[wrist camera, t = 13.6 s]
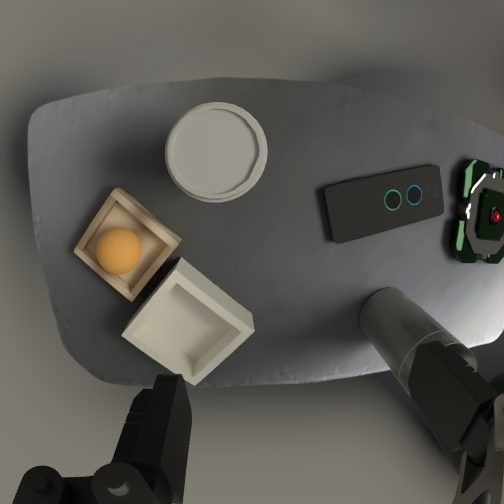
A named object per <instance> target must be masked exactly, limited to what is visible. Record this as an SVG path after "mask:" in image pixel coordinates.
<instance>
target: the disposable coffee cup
mask: <svg viewBox="0 0 504 504" xmlns="http://www.w3.org/2000/svg"><path fill="white" fill-rule="evenodd" d="M165 161H166V166H167V169H168V172H169V174H170V176H171V178H172V180H173V181H174V182H175V184H176V185H177V186H178V187H179V188H180V189H181V190H182V191H184V192H185V193H186V194H187V195H189V196H191V197H193V198H195V199H198V200H202V201H205V202H224V201H229V200H232V199H234V198H237V197H239V196H241V195H243V194H244V193H246V192H247V191H248V190H249V189H251V188H252V187H253V186H254V185H255V184H256V182H257V181H258V179H259V178H260V176H261V175H262V173H263V171H264V168H265V164H266V161H267V142H266V138H265V135H264V132H263V130H262V128H261V127H260V125H259V123H258V122H257V121H256V120H255V119H254V118H253V116H252V115H251V114H249V113H248V112H246V111H245V110H244V109H242V108H240V107H237V106H235V105H232V104H228V103H222V102H213V103H206V104H202V105H199V106H197V107H194V108H192V109H191V110H189V111H187V112H186V113H184V114H183V115H182V116H181V117H180V118H179V119H178V120H177V121H176V123H175V124H174V126H173V127H172V128H171V131H170V133H169V135H168V137H167V141H166V145H165Z"/></svg>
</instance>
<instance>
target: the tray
mask: <svg viewBox="0 0 504 504" xmlns="http://www.w3.org/2000/svg"><path fill="white" fill-rule="evenodd" d="M114 227H124V228H127V229H129V230H131V231H132V232H133V233H134V234H135V235H136V236H137V237H138V239H139V241H140V244H141V257H140V260H139V263H138V264H137V266H136V267H135V268H134V269H133V270H131V271H130V272H128V273H126V274H120V275H117V274H112V273H110V272H108V271H106V270H105V269H104V268H103V267H102V266H101V265H100V263H99V261H98V259H97V255H96V246H97V243H98V240H99V238H100V237H101V235H102V234H103V233H104V232H106V231H107V230H109V229H111V228H114ZM181 240H182V239H181V238H180V237H179V236H178V235H176V234H175V233H174V232H173V231H172V230H171V229H169V228H168V227H167V226H166V225H165V224H164V223H162V222H161V221H160V220H159V219H158V218H157V217H155V216H154V215H153V214H152V213H151V212H150V211H148V210H147V209H146V208H145V207H144V206H143V205H142V204H140V203H139V202H138V201H137V200H136V199H135V198H134V197H132V196H131V195H130V194H129V193H128V192H127V191H126V190H124V189H123V188H122V187H118V188H115V189H114V190H113V191H112V193H111V194H110V196H109V197H108V199H107V200H106V201H105V203H104V204H103V206H102V207H101V209H100V210H99V212H98V213H97V215H96V216H95V218H94V219H93V221H92V222H91V224H90V225H89V227H88V229H87V230H86V232H85V233H84V235H83V237H82V238H81V240H80V241H79V243H78V245H77V246H76V248H75V250H74V251H73V252H74V253H75V254H76V255H78V256H79V257H80V258H81V259H82V260H83V261H84V262H85V263H86V264H87V265H89V266H90V267H91V268H92V269H93V270H94V271H95V272H96V273H98V274H99V275H100V276H101V277H102V278H103V279H104V280H106V281H107V282H108V283H109V284H110V285H112V286H113V287H114V288H115V289H116V290H117V291H119V292H120V293H121V294H122V295H124V296H125V297H126V298H127V299H128V300H130V301H131V302H132V301H133V300H134V299H135V298H136V296H137V295H138V294H139V292H140V291H141V290H142V289H143V287H144V286H145V285H146V284H147V282H148V281H149V280H150V279H151V277H152V276H153V275H154V274H155V272H156V271H157V270H158V269H159V267H160V266H161V265H162V264H163V263H164V261H165V260H166V259H167V258H168V257H169V255H170V254H171V253H172V252H173V250H174V249H175V248H176V247H177V246H178V245H179V243H180V241H181Z"/></svg>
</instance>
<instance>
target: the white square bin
mask: <svg viewBox="0 0 504 504" xmlns="http://www.w3.org/2000/svg"><path fill="white" fill-rule="evenodd" d="M254 332H255V330H254V323H253V317H252V313H251V312H249V311H248V310H247V309H245V308H244V307H243V306H242V305H240V304H239V303H238V302H236V301H235V300H234V299H233V298H231V297H230V296H229V295H228V294H226V293H225V292H224V291H222V290H221V289H220V288H219V287H217V286H216V285H215V284H214V283H212V282H211V281H210V280H209V279H207V278H206V277H205V276H204V275H203V274H201V273H200V272H199V271H198V270H196V269H195V268H194V267H193V266H192V265H190V264H189V263H188V262H187V261H185V260H184V259H183V258H182V257H181V258H180V259H179V260H178V261H177V263H176V264H175V265H174V266H173V267H172V269H171V270H170V271H169V272H168V273H167V275H166V276H165V277H164V278H163V279H162V281H161V282H160V283H159V284H158V285H157V287H156V288H155V289H154V290H153V292H152V293H151V294H150V295H149V296H148V298H147V299H146V300H145V301H144V303H143V304H142V305H141V306H140V308H139V309H138V310H137V311H136V313H135V314H134V315H133V316H132V318H131V319H130V321H129V323H128V324H127V326H126V328H125V330H124V331H123V333H122V335H121V336H123V337H124V338H125V339H127V340H128V341H129V342H131V343H132V344H133V345H135V346H136V347H137V348H139V349H140V350H142V351H143V352H144V353H146V354H147V355H149V356H150V357H151V358H153V359H154V360H156V361H157V362H159V363H160V364H162V365H163V366H164V367H166V368H167V369H169V370H170V371H172V372H174V373H175V374H182V376H183V379H184V380H186V381H188V382H189V383H191V384H192V385H194V386H195V385H196V384H198V383H199V382H200V381H201V380H202V379H203V378H204V377H206V376H207V375H208V374H209V373H210V372H211V371H212V370H213V369H214V368H216V367H217V366H218V365H219V364H220V363H221V362H222V361H223V360H224V359H226V358H227V357H228V356H229V355H230V354H231V353H232V352H233V351H234V350H235V349H236V348H238V347H239V346H240V345H241V344H242V343H243V342H244V341H245V340H246V339H247V338H248V337H249V336H250V335H251V334H252V333H254Z"/></svg>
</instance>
